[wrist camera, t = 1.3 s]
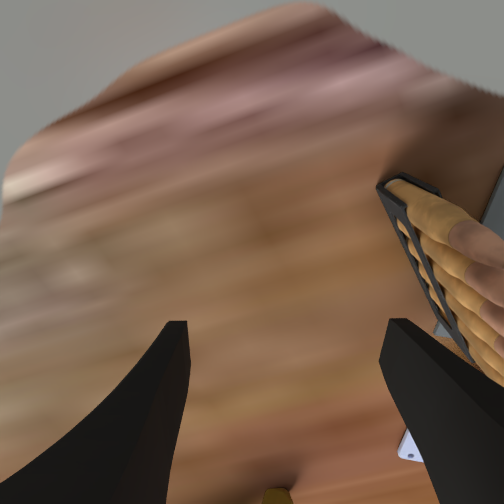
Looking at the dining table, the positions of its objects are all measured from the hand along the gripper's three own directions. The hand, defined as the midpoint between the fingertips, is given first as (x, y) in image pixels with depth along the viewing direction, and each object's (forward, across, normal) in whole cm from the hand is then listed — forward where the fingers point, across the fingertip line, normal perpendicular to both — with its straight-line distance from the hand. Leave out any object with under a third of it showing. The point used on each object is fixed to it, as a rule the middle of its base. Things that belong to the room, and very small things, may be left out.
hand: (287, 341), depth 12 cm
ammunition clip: (+10, -10, +2) cm, 15 cm away
